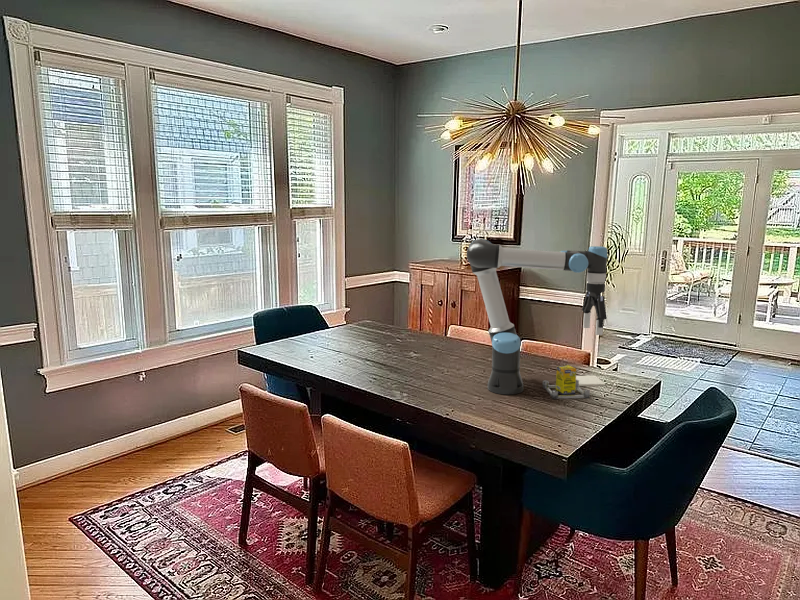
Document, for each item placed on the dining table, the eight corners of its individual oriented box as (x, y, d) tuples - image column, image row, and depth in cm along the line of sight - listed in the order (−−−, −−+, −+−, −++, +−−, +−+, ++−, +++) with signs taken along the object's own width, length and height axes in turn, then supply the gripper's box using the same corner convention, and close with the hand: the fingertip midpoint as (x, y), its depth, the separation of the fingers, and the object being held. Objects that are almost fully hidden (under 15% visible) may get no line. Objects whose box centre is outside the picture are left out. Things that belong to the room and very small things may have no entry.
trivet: (577, 386, 237) (577, 384, 237) (568, 377, 249) (568, 376, 249) (605, 385, 238) (605, 383, 237) (595, 377, 249) (595, 375, 249)
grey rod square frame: (552, 399, 222) (552, 392, 221) (542, 387, 237) (542, 380, 236) (590, 398, 222) (590, 391, 221) (577, 386, 237) (577, 379, 237)
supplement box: (563, 395, 226) (564, 370, 224) (555, 391, 231) (556, 366, 230) (575, 394, 227) (576, 368, 225) (567, 389, 233) (568, 364, 231)
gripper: (617, 286, 222) (613, 337, 225) (592, 278, 246) (589, 325, 250) (599, 286, 222) (595, 337, 225) (576, 278, 246) (573, 325, 250)
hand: (592, 331), depth 238 cm, fingers open, 13 cm apart
